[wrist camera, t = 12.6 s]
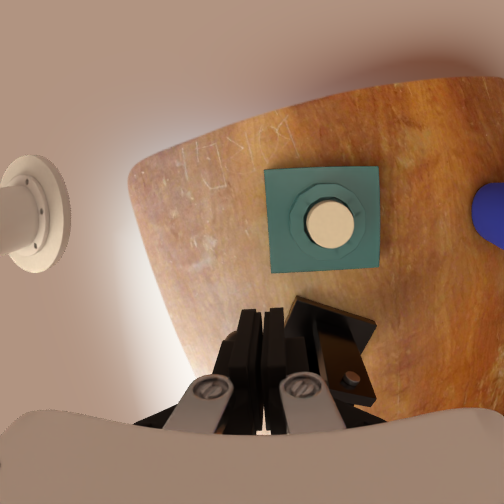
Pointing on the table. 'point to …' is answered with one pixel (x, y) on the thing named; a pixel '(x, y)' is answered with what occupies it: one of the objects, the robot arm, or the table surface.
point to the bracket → (334, 348)
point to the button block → (299, 204)
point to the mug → (490, 213)
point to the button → (330, 224)
